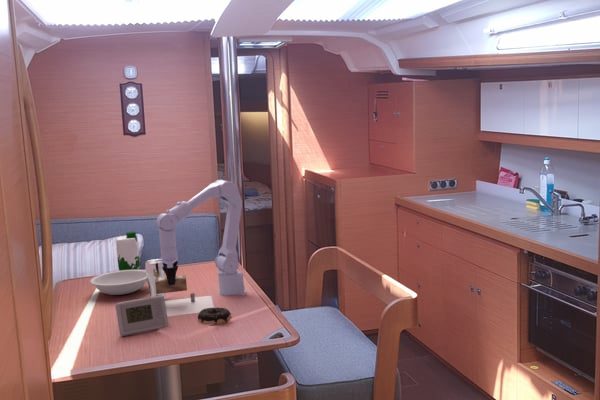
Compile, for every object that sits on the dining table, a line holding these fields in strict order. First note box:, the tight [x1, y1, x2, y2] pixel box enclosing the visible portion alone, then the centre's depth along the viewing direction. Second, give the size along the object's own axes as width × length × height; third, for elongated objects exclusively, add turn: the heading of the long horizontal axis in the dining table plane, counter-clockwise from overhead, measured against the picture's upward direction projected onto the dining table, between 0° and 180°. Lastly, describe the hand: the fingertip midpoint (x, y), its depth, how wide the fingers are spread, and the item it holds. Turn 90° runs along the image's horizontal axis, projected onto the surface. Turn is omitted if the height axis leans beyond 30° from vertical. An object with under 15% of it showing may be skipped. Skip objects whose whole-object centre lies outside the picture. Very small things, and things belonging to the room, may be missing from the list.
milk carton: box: [115, 231, 141, 271], centre depth 298 cm, size 9×9×20 cm
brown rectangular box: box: [155, 274, 188, 294], centre depth 251 cm, size 11×5×5 cm, turn 101°
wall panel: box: [165, 292, 215, 318], centre depth 248 cm, size 22×20×4 cm
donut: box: [197, 307, 232, 327], centre depth 232 cm, size 11×12×4 cm
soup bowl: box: [89, 269, 147, 296], centre depth 276 cm, size 24×24×7 cm
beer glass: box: [144, 258, 167, 300], centre depth 262 cm, size 7×7×15 cm
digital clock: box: [115, 296, 169, 337], centre depth 226 cm, size 16×9×11 cm, turn 102°
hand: (171, 282), depth 251 cm, fingers closed on brown rectangular box, 5 cm apart
